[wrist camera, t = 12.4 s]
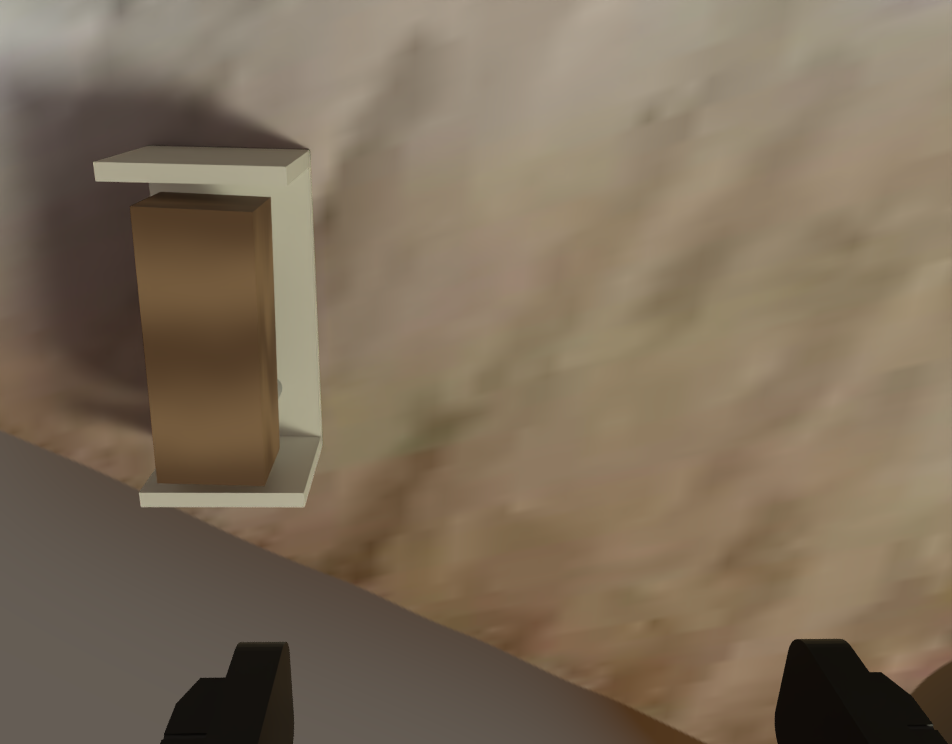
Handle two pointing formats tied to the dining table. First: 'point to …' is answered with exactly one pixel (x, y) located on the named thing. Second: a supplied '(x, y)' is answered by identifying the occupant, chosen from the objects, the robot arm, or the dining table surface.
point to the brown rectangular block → (208, 335)
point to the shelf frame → (293, 294)
